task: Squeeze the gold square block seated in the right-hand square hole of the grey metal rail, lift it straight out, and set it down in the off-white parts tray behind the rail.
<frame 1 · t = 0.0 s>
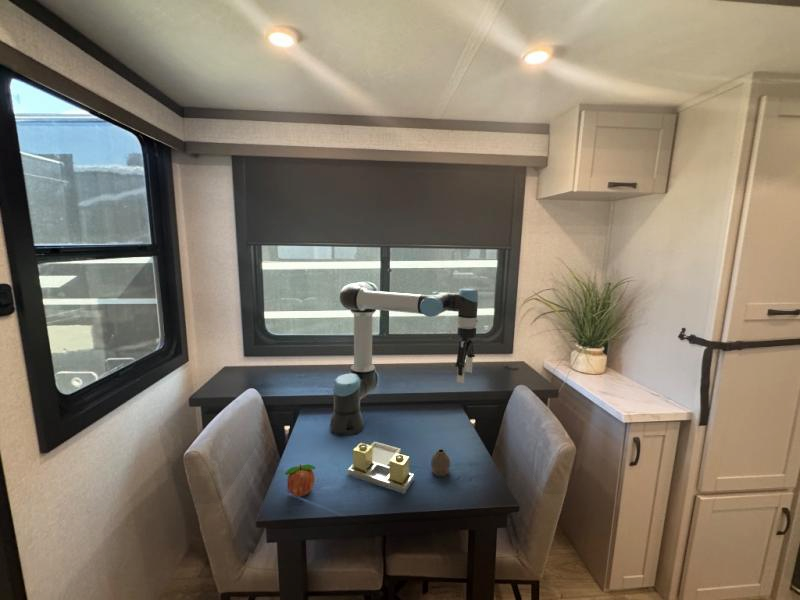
hand: (464, 377, 142), 28 cm above the table, fingers open, 13 cm apart
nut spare: (362, 471, 123), resting on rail
vase: (440, 473, 124), on the table
tray: (380, 457, 133), on the table
gold square block: (399, 483, 117), resting on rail
fruit: (300, 493, 113), on the table
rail: (380, 478, 120), on the table
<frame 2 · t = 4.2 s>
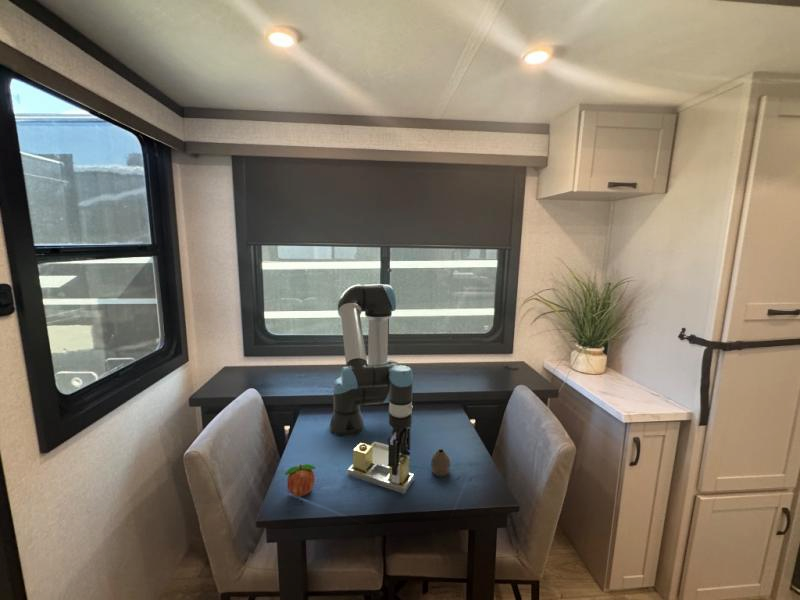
hand: (399, 476, 117), 3 cm above the table, fingers closed on gold square block, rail, 5 cm apart
gold square block: (399, 483, 117), point 1 cm above the table, touching gripper
everything else where it was.
when the fingers open (4 cm above the table, at t = 10.1 s): gold square block drops 1 cm, resting on tray.
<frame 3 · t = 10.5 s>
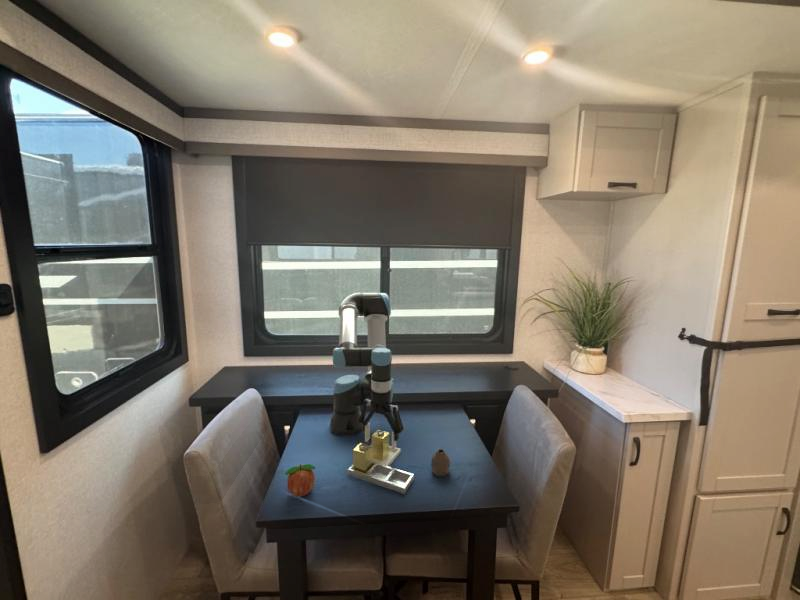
hand: (380, 443, 132), 5 cm above the table, fingers open, 11 cm apart
gold square block: (380, 455, 133), resting on tray
everything else where it was.
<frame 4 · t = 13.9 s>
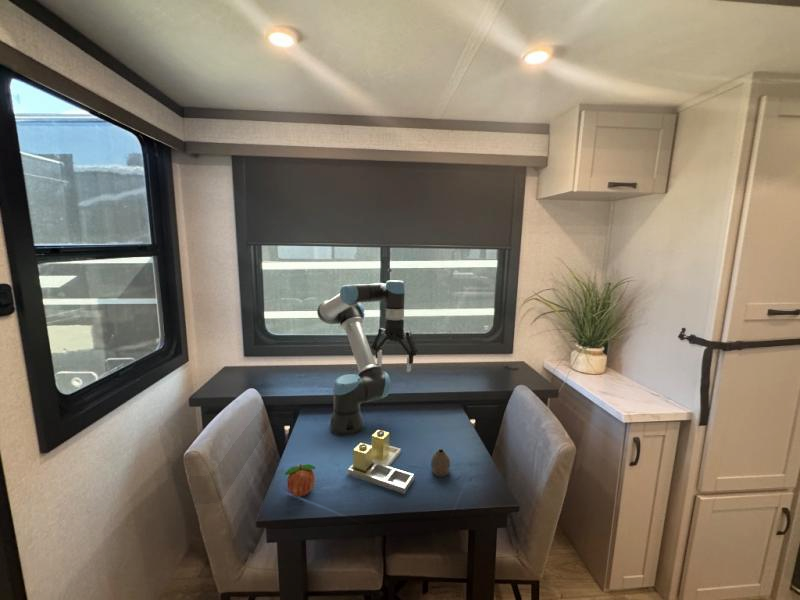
hand: (393, 368, 143), 31 cm above the table, fingers open, 13 cm apart
nothing on the table moved.
at the end: gold square block inside the target area on the tray (0.0 cm from its centre), point 0.5 cm above the tray's base; gold square block tilted 0°; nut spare moved 0.0 cm from its start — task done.
